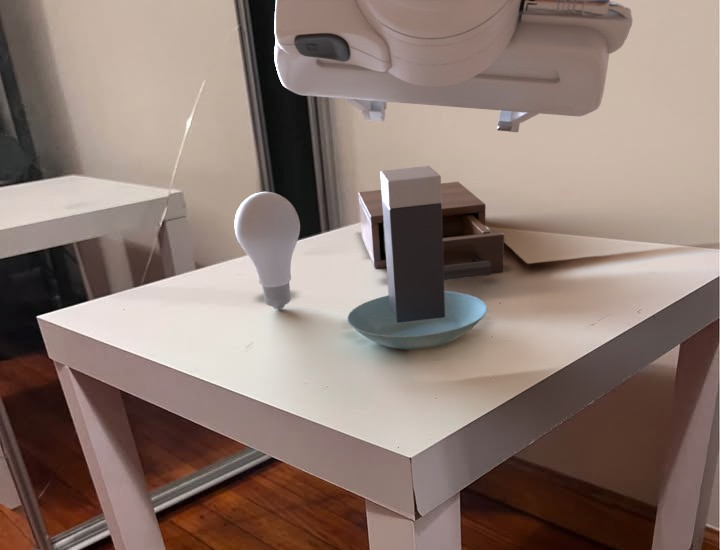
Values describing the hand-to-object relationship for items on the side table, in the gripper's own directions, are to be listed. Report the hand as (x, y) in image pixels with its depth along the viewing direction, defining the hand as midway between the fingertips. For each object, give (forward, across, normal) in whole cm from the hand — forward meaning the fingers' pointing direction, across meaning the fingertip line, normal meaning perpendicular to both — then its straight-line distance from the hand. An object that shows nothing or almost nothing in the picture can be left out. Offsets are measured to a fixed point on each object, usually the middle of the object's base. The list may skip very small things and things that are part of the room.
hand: (441, 116), depth 54 cm
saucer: (+12, 0, +14) cm, 18 cm away
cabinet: (+38, +4, -2) cm, 38 cm away
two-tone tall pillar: (+11, +1, +12) cm, 16 cm away
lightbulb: (+20, +15, +11) cm, 27 cm away
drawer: (+27, 0, +3) cm, 27 cm away
